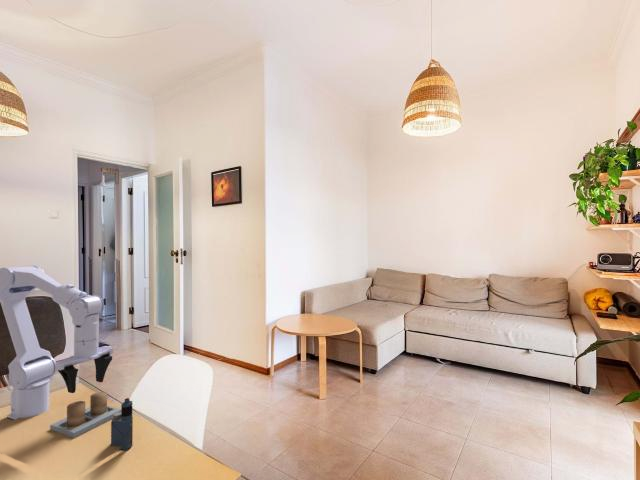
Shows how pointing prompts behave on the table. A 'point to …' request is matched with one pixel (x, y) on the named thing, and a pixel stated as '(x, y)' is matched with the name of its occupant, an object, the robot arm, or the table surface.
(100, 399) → the sleeve seated
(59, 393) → the table surface
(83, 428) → the grey divided tray
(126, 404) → the vaping device
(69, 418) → the sleeve
